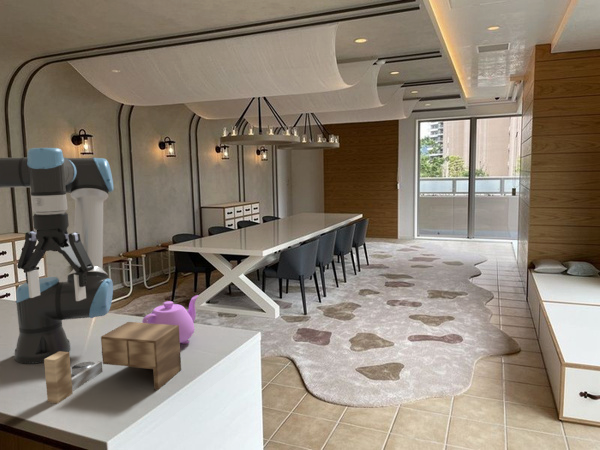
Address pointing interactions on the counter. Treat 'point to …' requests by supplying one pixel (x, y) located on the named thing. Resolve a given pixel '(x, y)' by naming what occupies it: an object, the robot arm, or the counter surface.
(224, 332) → the counter surface
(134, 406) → the counter surface
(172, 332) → the small wooden cabinet
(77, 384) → the wood and metal l-shape
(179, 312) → the teapot
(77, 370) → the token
